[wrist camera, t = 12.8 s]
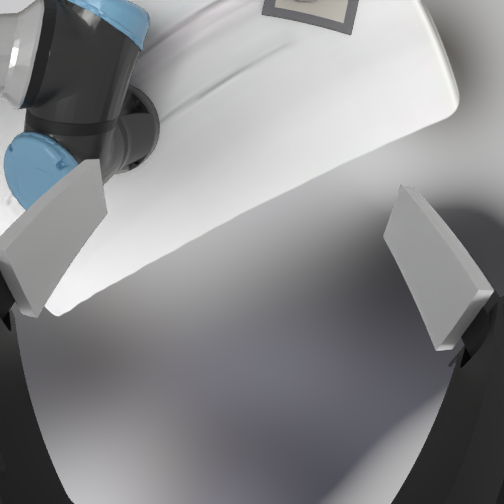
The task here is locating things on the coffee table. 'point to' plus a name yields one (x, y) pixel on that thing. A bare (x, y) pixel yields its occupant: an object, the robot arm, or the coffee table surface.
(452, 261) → the robot arm
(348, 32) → the coaster mat
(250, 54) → the coffee table surface
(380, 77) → the coffee table surface
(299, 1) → the water bottle
